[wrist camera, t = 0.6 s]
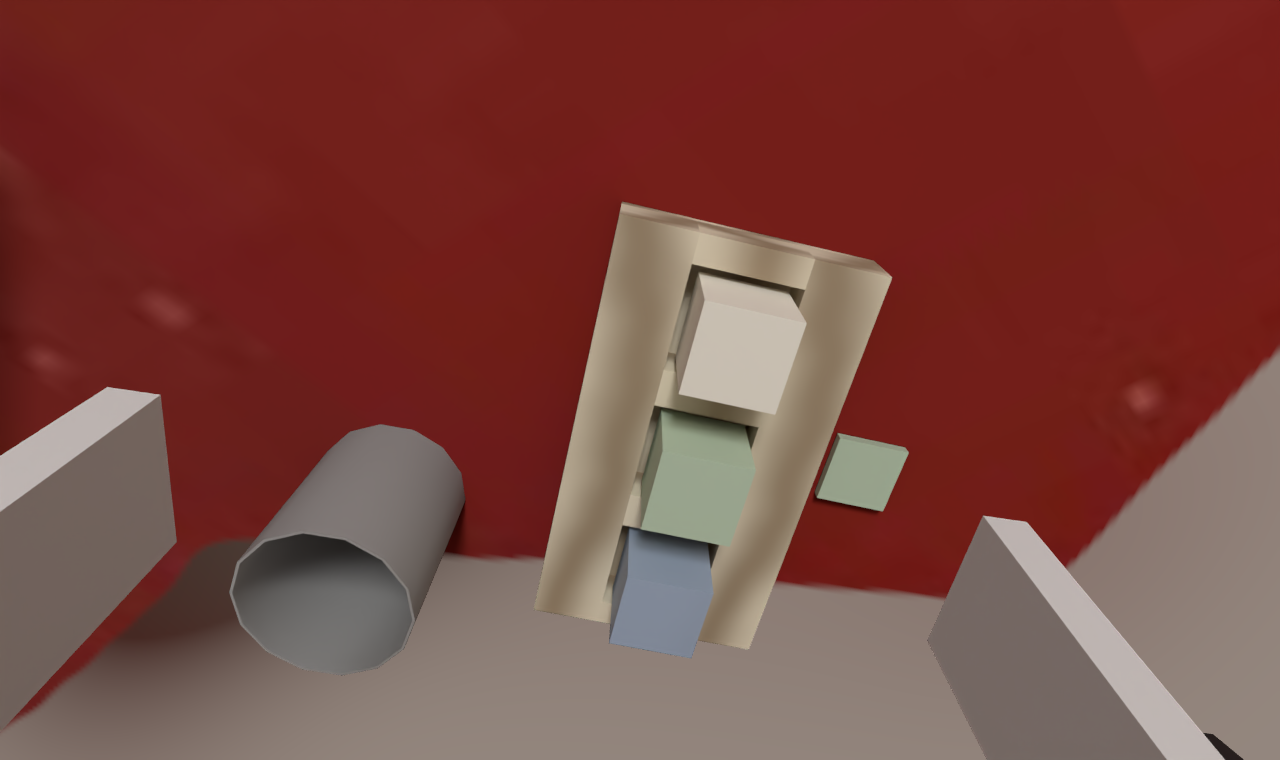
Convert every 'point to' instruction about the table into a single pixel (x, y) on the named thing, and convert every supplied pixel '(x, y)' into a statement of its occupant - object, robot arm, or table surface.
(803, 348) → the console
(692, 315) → the button cream
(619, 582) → the button blue
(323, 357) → the table surface
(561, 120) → the table surface
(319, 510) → the cup
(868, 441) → the tile
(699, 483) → the button sage
